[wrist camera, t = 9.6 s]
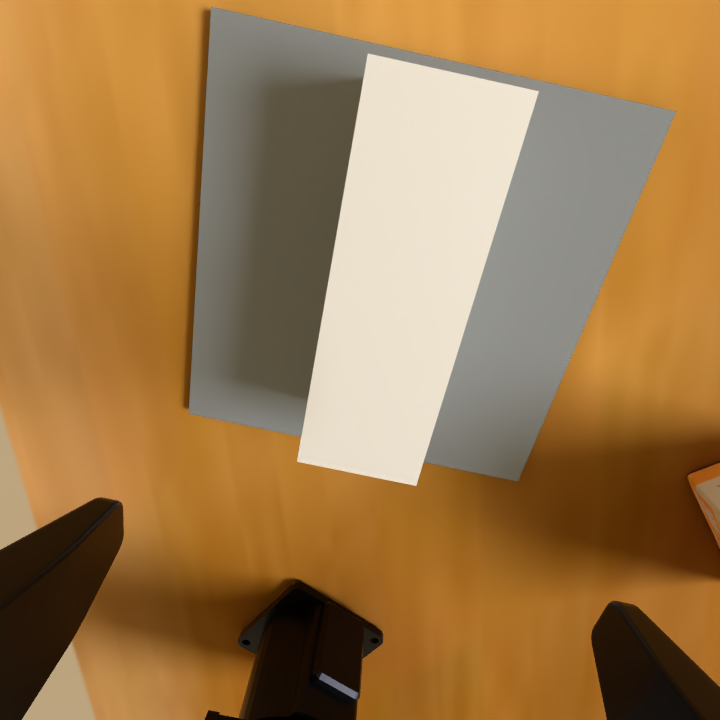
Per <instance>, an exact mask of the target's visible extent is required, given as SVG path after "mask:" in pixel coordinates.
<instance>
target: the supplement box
mask: <svg viewBox="0 0 720 720" xmlns="http://www.w3.org/2000/svg"><path fill="white" fill-rule="evenodd" d="M688 481H689V483H690V486H691V488H692V490H693V493H694V495H695V497H696V499H697V501H698V503H699V505H700V507H701V509H702V512H703V514H704V516H705V518H706V520H707V522H708V524H709V526H710V528H711V530H712V532H713V534H714V536H715V539H716V541H717V543H718V546H719V548H720V463H717V464H715V465H712V466H710V467H707V468H704V469H702V470H699V471H696V472H694V473H691V474H689V475H688Z"/></svg>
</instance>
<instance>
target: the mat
mask: <svg viewBox="0 0 720 720" xmlns="http://www.w3.org/2000/svg"><path fill="white" fill-rule="evenodd" d="M368 54H373V55H377V56H382V57H386V58H391V59H395V60H400V61H404V62H409V63H413V64H418V65H422V66H427V67H432V68H436V69H441V70H445V71H450V72H454V73H459V74H463V75H468V76H472V77H477V78H481V79H486V80H490V81H495V82H499V83H504V84H508V85H513V86H517V87H522V88H526V89H531V90H535V91H539V93H538V96H537V99H536V103H535V106H534V109H533V112H532V115H531V119H530V122H529V125H528V128H527V131H526V135H525V138H524V141H523V144H522V147H521V151H520V154H519V157H518V160H517V164H516V167H515V170H514V173H513V176H512V180H511V183H510V186H509V189H508V192H507V196H506V199H505V202H504V205H503V208H502V212H501V215H500V218H499V221H498V225H497V228H496V231H495V234H494V237H493V241H492V244H491V247H490V250H489V253H488V257H487V260H486V263H485V266H484V270H483V273H482V276H481V279H480V282H479V286H478V289H477V292H476V295H475V298H474V302H473V305H472V308H471V311H470V314H469V318H468V321H467V324H466V327H465V331H464V334H463V337H462V340H461V343H460V347H459V350H458V353H457V356H456V359H455V363H454V366H453V369H452V372H451V375H450V379H449V382H448V385H447V388H446V392H445V395H444V398H443V401H442V404H441V408H440V411H439V414H438V417H437V420H436V424H435V427H434V430H433V433H432V437H431V440H430V443H429V446H428V449H427V453H426V456H425V459H424V462H425V463H430V464H435V465H440V466H445V467H449V468H454V469H459V470H464V471H469V472H473V473H478V474H483V475H488V476H493V477H498V478H502V479H507V480H512V481H517V482H518V481H519V478H520V476H521V474H522V471H523V469H524V467H525V464H526V462H527V460H528V457H529V455H530V453H531V450H532V448H533V446H534V443H535V441H536V439H537V436H538V434H539V431H540V429H541V427H542V424H543V422H544V420H545V417H546V415H547V413H548V410H549V408H550V406H551V403H552V401H553V399H554V396H555V394H556V392H557V389H558V387H559V385H560V382H561V380H562V378H563V375H564V373H565V371H566V368H567V366H568V364H569V361H570V359H571V357H572V354H573V352H574V349H575V347H576V345H577V342H578V340H579V338H580V335H581V333H582V331H583V328H584V326H585V324H586V321H587V319H588V317H589V314H590V312H591V310H592V307H593V305H594V303H595V300H596V298H597V296H598V293H599V291H600V289H601V286H602V284H603V282H604V279H605V277H606V275H607V272H608V270H609V268H610V265H611V263H612V260H613V258H614V256H615V253H616V251H617V249H618V246H619V244H620V242H621V239H622V237H623V235H624V232H625V230H626V228H627V225H628V223H629V221H630V218H631V216H632V214H633V211H634V209H635V207H636V204H637V202H638V200H639V197H640V195H641V193H642V190H643V188H644V186H645V183H646V181H647V179H648V176H649V174H650V171H651V169H652V167H653V164H654V162H655V160H656V157H657V155H658V153H659V150H660V148H661V146H662V143H663V141H664V139H665V136H666V134H667V132H668V129H669V127H670V125H671V122H672V120H673V118H674V115H675V113H676V111H672V110H668V109H663V108H659V107H654V106H650V105H645V104H641V103H637V102H632V101H628V100H623V99H619V98H614V97H610V96H605V95H601V94H597V93H592V92H588V91H583V90H579V89H574V88H570V87H565V86H561V85H557V84H552V83H548V82H543V81H539V80H534V79H530V78H525V77H521V76H516V75H512V74H508V73H503V72H499V71H494V70H490V69H485V68H481V67H476V66H472V65H468V64H463V63H459V62H454V61H450V60H445V59H441V58H436V57H432V56H428V55H423V54H419V53H414V52H410V51H405V50H401V49H396V48H392V47H388V46H383V45H379V44H374V43H370V42H365V41H361V40H356V39H352V38H348V37H343V36H339V35H334V34H330V33H325V32H321V31H316V30H312V29H308V28H303V27H299V26H294V25H290V24H285V23H281V22H276V21H272V20H268V19H263V18H259V17H254V16H250V15H245V14H241V13H236V12H232V11H228V10H223V9H219V8H214V7H211V16H210V34H209V53H208V71H207V89H206V107H205V126H204V144H203V162H202V180H201V198H200V217H199V235H198V253H197V271H196V290H195V308H194V326H193V344H192V363H191V381H190V399H189V414H193V415H198V416H203V417H208V418H213V419H218V420H222V421H227V422H232V423H237V424H242V425H246V426H251V427H256V428H261V429H266V430H271V431H275V432H280V433H285V434H290V435H295V436H300V437H301V436H302V431H303V425H304V419H305V413H306V408H307V402H308V396H309V390H310V384H311V379H312V373H313V367H314V361H315V356H316V350H317V344H318V338H319V332H320V327H321V321H322V315H323V309H324V304H325V298H326V292H327V286H328V281H329V275H330V269H331V263H332V257H333V252H334V246H335V240H336V234H337V229H338V223H339V217H340V211H341V205H342V200H343V194H344V188H345V182H346V177H347V171H348V165H349V159H350V153H351V148H352V142H353V136H354V130H355V125H356V119H357V113H358V107H359V102H360V96H361V90H362V84H363V78H364V73H365V67H366V61H367V55H368Z"/></svg>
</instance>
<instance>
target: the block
mask: <svg viewBox="0 0 720 720" xmlns="http://www.w3.org/2000/svg"><path fill="white" fill-rule="evenodd" d="M538 93H539V91H535V90H531V89H526V88H522V87H517V86H513V85H508V84H504V83H499V82H495V81H490V80H486V79H481V78H477V77H472V76H468V75H463V74H459V73H454V72H450V71H445V70H441V69H436V68H432V67H427V66H422V65H418V64H413V63H409V62H404V61H400V60H395V59H391V58H386V57H382V56H377V55H373V54H368V55H367V61H366V67H365V73H364V78H363V84H362V90H361V96H360V102H359V107H358V113H357V119H356V125H355V130H354V136H353V142H352V148H351V153H350V159H349V165H348V171H347V177H346V182H345V188H344V194H343V200H342V205H341V211H340V217H339V223H338V229H337V234H336V240H335V246H334V252H333V257H332V263H331V269H330V275H329V281H328V286H327V292H326V298H325V304H324V309H323V315H322V321H321V327H320V332H319V338H318V344H317V350H316V356H315V361H314V367H313V373H312V379H311V384H310V390H309V396H308V402H307V408H306V413H305V419H304V425H303V431H302V436H301V442H300V448H299V454H298V459H297V462H302V463H306V464H311V465H316V466H321V467H326V468H331V469H336V470H341V471H346V472H351V473H355V474H360V475H365V476H370V477H375V478H380V479H385V480H390V481H395V482H400V483H404V484H409V485H414V486H416V485H417V481H418V478H419V475H420V472H421V469H422V465H423V462H424V459H425V456H426V453H427V449H428V446H429V443H430V440H431V437H432V433H433V430H434V427H435V424H436V420H437V417H438V414H439V411H440V408H441V404H442V401H443V398H444V395H445V392H446V388H447V385H448V382H449V379H450V375H451V372H452V369H453V366H454V363H455V359H456V356H457V353H458V350H459V347H460V343H461V340H462V337H463V334H464V331H465V327H466V324H467V321H468V318H469V314H470V311H471V308H472V305H473V302H474V298H475V295H476V292H477V289H478V286H479V282H480V279H481V276H482V273H483V270H484V266H485V263H486V260H487V257H488V253H489V250H490V247H491V244H492V241H493V237H494V234H495V231H496V228H497V225H498V221H499V218H500V215H501V212H502V208H503V205H504V202H505V199H506V196H507V192H508V189H509V186H510V183H511V180H512V176H513V173H514V170H515V167H516V164H517V160H518V157H519V154H520V151H521V147H522V144H523V141H524V138H525V135H526V131H527V128H528V125H529V122H530V119H531V115H532V112H533V109H534V106H535V103H536V99H537V96H538Z"/></svg>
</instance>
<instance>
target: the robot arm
mask: <svg viewBox="0 0 720 720" xmlns="http://www.w3.org/2000/svg"><path fill="white" fill-rule="evenodd" d="M123 535H124V528H123V505H122V503H121V502H120V501H117V500H112V499H107V498H102V497H100V498H96V499H93V500H91V501H90V502H88V503H86V504H84V505H82V506H80V507H78V508H77V509H75V510H73V511H71V512H69V513H67V514H66V515H64V516H62V517H60V518H58V519H56V520H54V521H53V522H51V523H49V524H47V525H45V526H43V527H42V528H40V529H38V530H36V531H34V532H32V533H31V534H29V535H27V536H25V537H23V538H21V539H19V540H18V541H16V542H14V543H12V544H10V545H8V546H7V547H5V548H3V549H1V550H0V720H22V718H23V717H24V715H25V713H26V712H27V710H28V709H29V707H30V706H31V704H32V702H33V701H34V699H35V698H36V696H37V695H38V693H39V692H40V690H41V689H42V687H43V685H44V684H45V682H46V681H47V679H48V678H49V676H50V674H51V673H52V671H53V670H54V668H55V666H56V665H57V663H58V662H59V660H60V659H61V657H62V656H63V654H64V652H65V651H66V649H67V648H68V646H69V644H70V643H71V641H72V639H73V638H74V636H75V634H76V633H77V631H78V629H79V627H80V625H81V623H82V622H83V620H84V618H85V616H86V614H87V612H88V610H89V608H90V606H91V604H92V602H93V600H94V598H95V596H96V594H97V592H98V590H99V588H100V586H101V584H102V582H103V580H104V579H105V577H106V575H107V573H108V571H109V569H110V567H111V565H112V563H113V561H114V559H115V557H116V555H117V553H118V551H119V549H120V547H121V544H122V541H123ZM591 640H592V647H593V652H594V657H595V662H596V667H597V672H598V677H599V682H600V687H601V692H602V697H603V702H604V707H605V712H606V717H607V720H720V687H719V686H718V685H717V684H716V683H715V682H714V681H713V680H712V679H711V678H710V677H709V676H708V675H707V674H706V673H705V672H704V671H703V670H702V669H701V668H700V667H699V666H698V665H697V664H696V663H695V662H694V661H693V660H691V659H690V658H689V657H688V656H687V655H686V654H685V653H684V652H683V651H682V650H681V649H680V648H679V647H678V646H677V645H676V644H675V643H674V642H673V641H672V640H671V639H670V638H669V637H668V636H667V635H666V634H665V633H664V632H663V631H662V630H661V629H660V628H659V627H658V626H657V625H656V624H655V623H654V622H653V621H652V620H651V619H650V618H649V617H648V616H647V615H646V614H644V613H643V612H642V611H641V610H640V609H639V608H638V607H637V606H635V605H633V604H628V603H624V602H619V601H612V602H610V603H609V604H608V605H607V606H606V608H605V610H604V611H603V613H602V614H601V616H600V618H599V619H598V621H597V623H596V624H595V626H594V628H593V630H592V636H591ZM238 643H239V645H240V646H242V647H244V648H245V649H247V650H249V651H251V652H253V653H254V654H256V657H255V660H254V664H253V667H252V671H251V675H250V678H249V682H248V686H247V689H246V693H245V697H244V700H243V704H242V708H241V711H240V715H239V718H234V717H229V716H224V715H219V712H216V711H211V710H209V711H208V713H207V715H206V718H205V720H356V716H357V701H358V699H359V697H360V689H361V673H362V659H363V658H364V657H365V656H367V655H368V654H369V653H371V652H372V651H373V650H375V649H376V648H377V647H379V646H380V645H381V644H382V643H383V633H382V631H381V630H379V629H377V628H376V627H374V626H373V625H371V624H369V623H368V622H366V621H364V620H363V619H361V618H359V617H358V616H356V615H354V614H353V613H351V612H349V611H348V610H346V609H345V608H343V607H341V606H340V605H338V604H336V603H335V602H333V601H331V600H330V599H328V598H326V597H325V596H323V595H322V594H320V593H318V592H317V591H315V590H313V589H312V588H310V587H308V586H307V585H305V584H303V583H294V584H293V585H292V586H291V587H289V588H288V589H287V590H286V591H285V592H284V593H283V594H282V595H281V596H280V597H279V598H278V599H277V600H276V601H274V602H273V603H272V604H271V605H270V606H269V607H268V608H267V609H266V610H265V611H264V612H263V613H262V614H261V615H259V616H258V617H257V618H256V619H255V620H254V621H253V622H252V623H251V624H250V625H249V626H248V627H247V628H245V629H244V630H243V631H242V632H241V634H240V636H239V639H238Z"/></svg>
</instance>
